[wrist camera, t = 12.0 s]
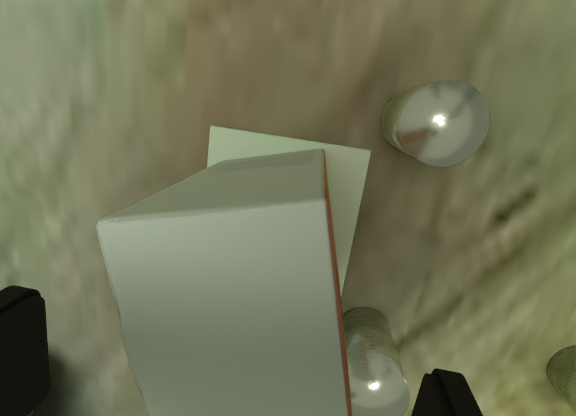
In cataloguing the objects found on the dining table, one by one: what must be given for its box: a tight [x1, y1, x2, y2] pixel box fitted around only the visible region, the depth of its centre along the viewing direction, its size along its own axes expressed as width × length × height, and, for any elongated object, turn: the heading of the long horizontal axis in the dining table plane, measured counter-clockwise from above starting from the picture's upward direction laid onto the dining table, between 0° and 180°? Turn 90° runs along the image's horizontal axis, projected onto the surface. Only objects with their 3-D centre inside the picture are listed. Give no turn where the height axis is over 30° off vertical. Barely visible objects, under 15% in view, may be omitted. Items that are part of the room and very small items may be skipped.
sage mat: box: [207, 125, 371, 295], centre depth 23 cm, size 10×10×1 cm
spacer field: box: [343, 80, 576, 416], centre depth 20 cm, size 18×18×6 cm
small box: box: [96, 148, 352, 416], centre depth 16 cm, size 8×6×13 cm
